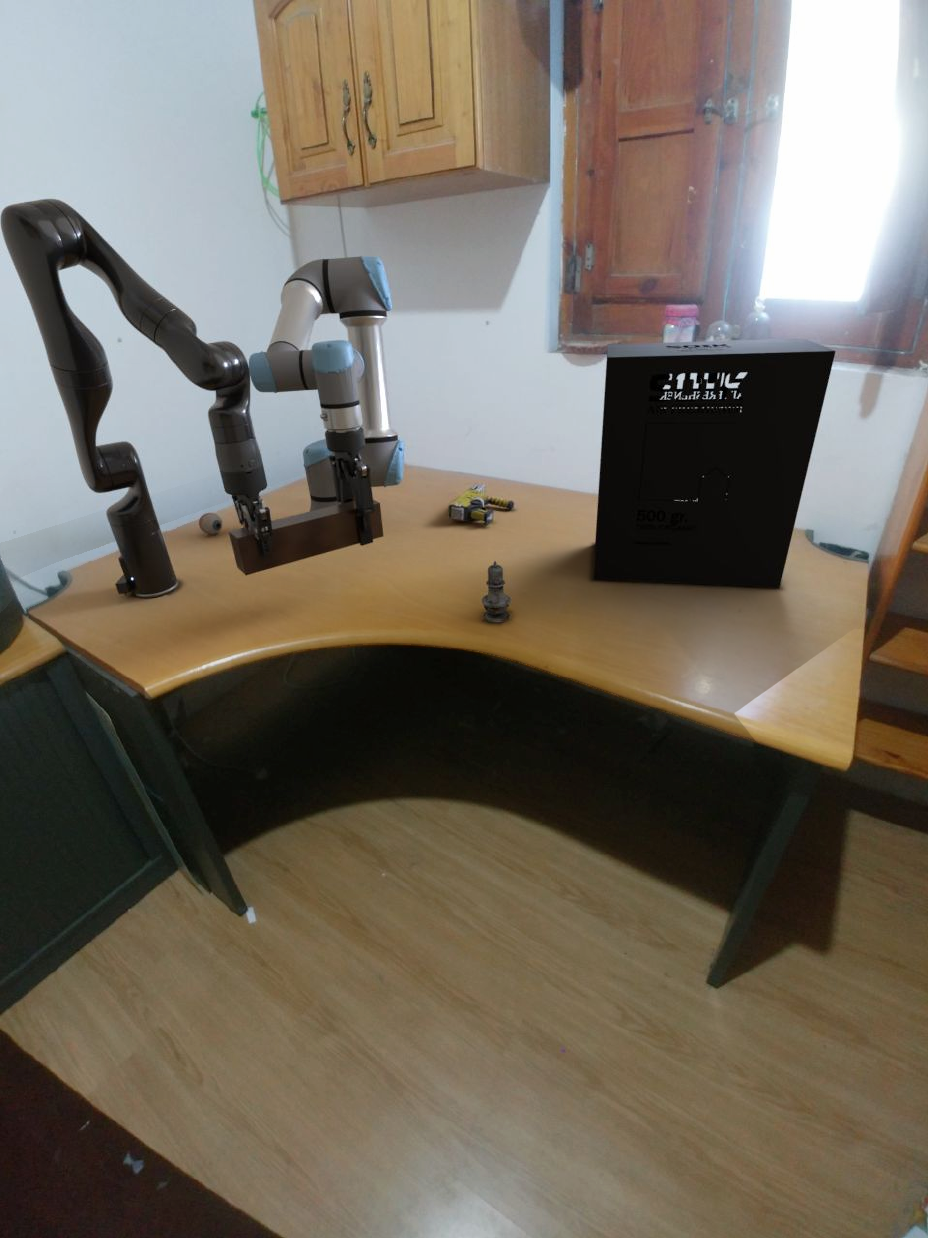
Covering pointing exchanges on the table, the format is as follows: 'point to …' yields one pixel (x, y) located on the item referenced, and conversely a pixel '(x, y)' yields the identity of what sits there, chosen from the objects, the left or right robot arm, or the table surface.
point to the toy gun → (475, 505)
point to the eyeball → (210, 523)
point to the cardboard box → (706, 459)
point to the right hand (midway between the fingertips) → (360, 539)
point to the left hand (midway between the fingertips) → (261, 551)
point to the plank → (302, 536)
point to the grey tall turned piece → (496, 596)
